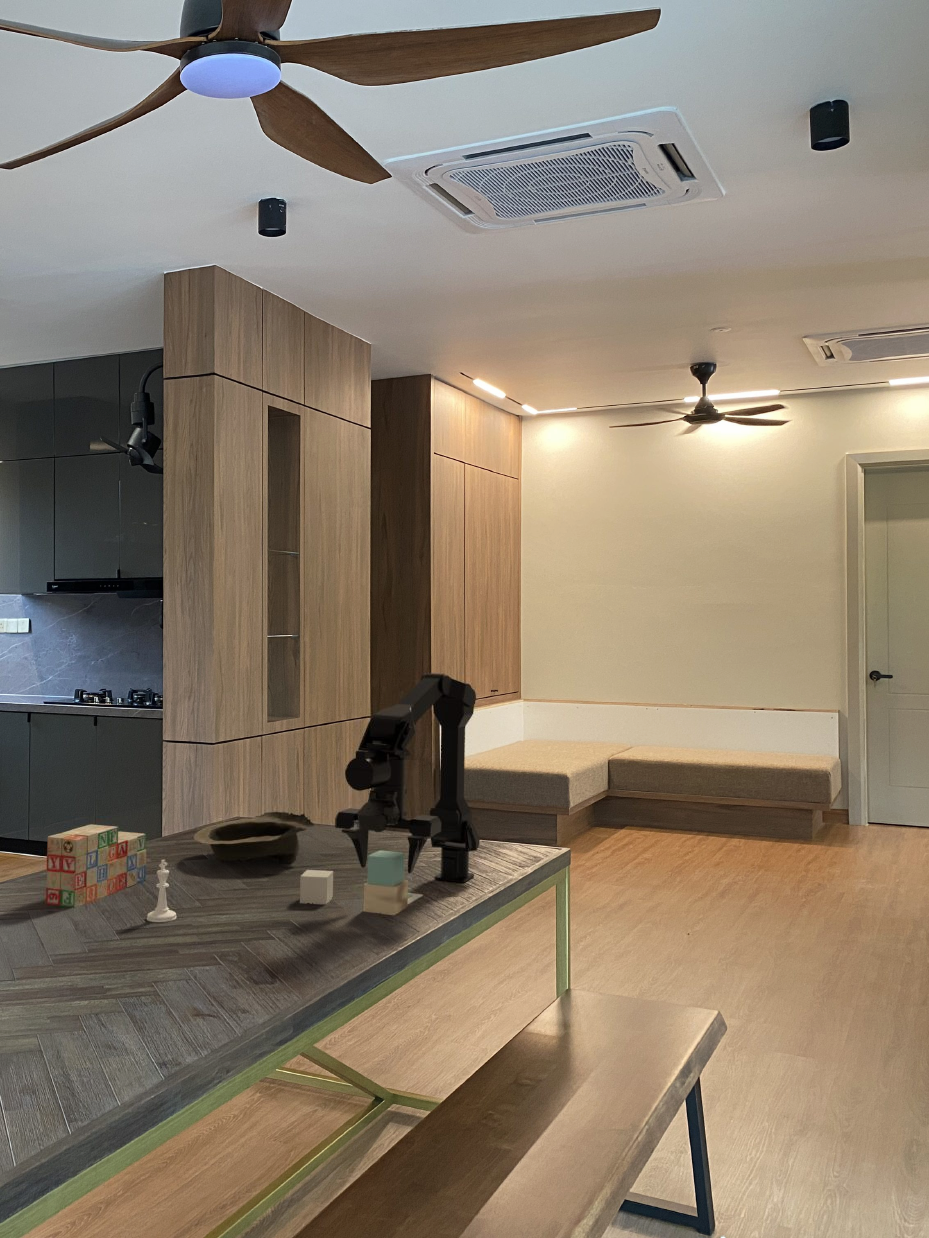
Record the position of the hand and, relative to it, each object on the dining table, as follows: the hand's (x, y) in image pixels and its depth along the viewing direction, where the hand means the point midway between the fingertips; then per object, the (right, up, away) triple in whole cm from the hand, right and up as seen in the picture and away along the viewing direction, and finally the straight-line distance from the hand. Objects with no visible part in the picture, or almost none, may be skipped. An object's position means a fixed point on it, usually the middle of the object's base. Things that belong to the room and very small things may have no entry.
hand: (386, 869), depth 192 cm
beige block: (-13, -7, +5) cm, 16 cm away
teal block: (0, -2, 0) cm, 2 cm away
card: (+2, -7, +8) cm, 11 cm away
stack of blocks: (-54, -6, +7) cm, 55 cm away
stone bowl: (-32, -7, +36) cm, 48 cm away
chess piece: (-38, -6, -10) cm, 39 cm away
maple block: (0, -7, 0) cm, 7 cm away
